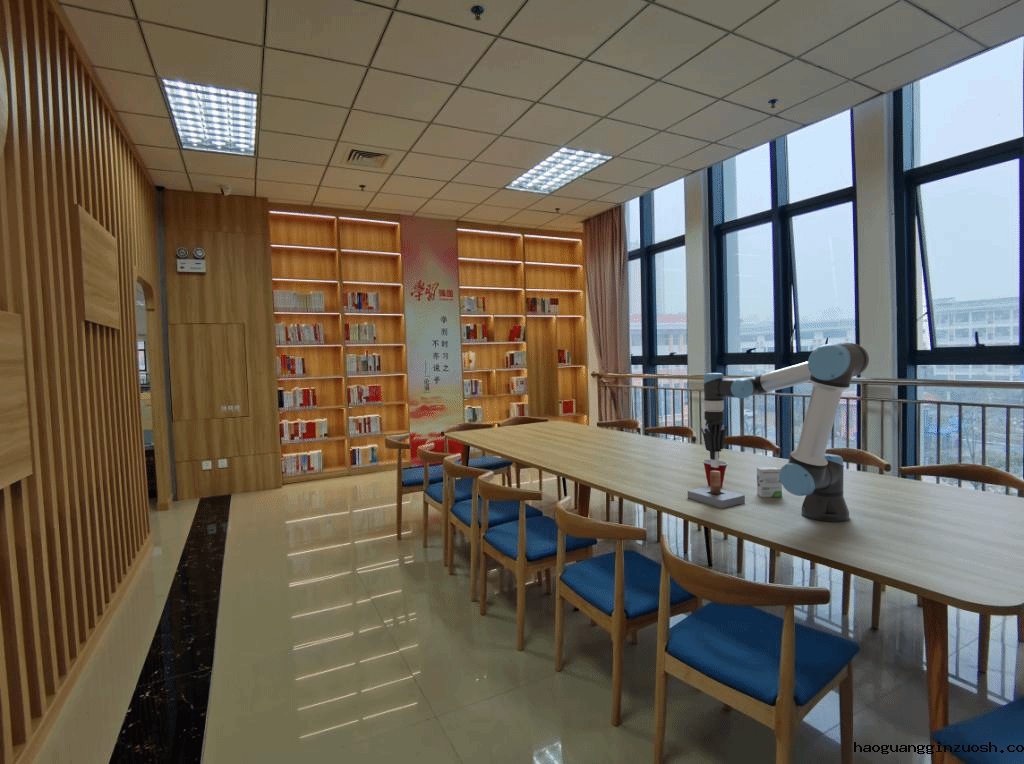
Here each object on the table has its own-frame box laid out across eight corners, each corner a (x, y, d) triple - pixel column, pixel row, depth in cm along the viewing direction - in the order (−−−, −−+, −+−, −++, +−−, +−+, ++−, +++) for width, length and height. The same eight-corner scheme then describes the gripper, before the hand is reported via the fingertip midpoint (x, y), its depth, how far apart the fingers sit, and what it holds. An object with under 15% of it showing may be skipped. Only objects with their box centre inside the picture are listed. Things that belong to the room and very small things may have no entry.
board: (744, 502, 212) (744, 495, 212) (722, 508, 206) (722, 500, 206) (709, 492, 228) (709, 486, 228) (687, 497, 222) (687, 490, 222)
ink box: (777, 493, 222) (777, 466, 222) (782, 497, 218) (782, 469, 217) (756, 494, 224) (756, 466, 223) (760, 497, 219) (760, 469, 218)
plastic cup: (732, 490, 231) (731, 463, 230) (707, 490, 232) (706, 463, 231) (724, 483, 242) (723, 458, 241) (700, 484, 243) (699, 458, 242)
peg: (723, 500, 216) (722, 471, 216) (716, 502, 214) (715, 473, 214) (715, 498, 220) (714, 470, 219) (708, 499, 218) (707, 471, 217)
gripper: (717, 408, 221) (718, 463, 223) (695, 411, 215) (696, 467, 217) (732, 409, 215) (733, 466, 216) (710, 412, 209) (710, 470, 210)
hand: (714, 466), depth 216 cm, fingers closed
